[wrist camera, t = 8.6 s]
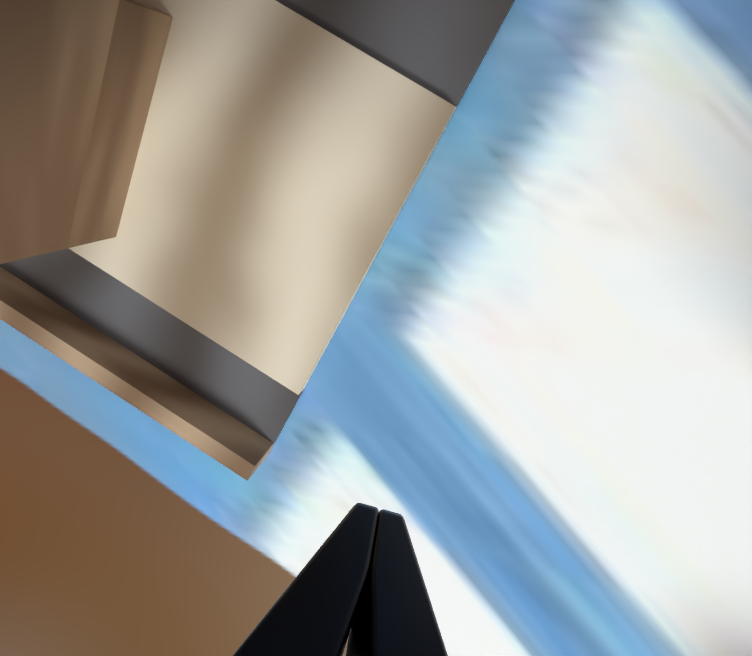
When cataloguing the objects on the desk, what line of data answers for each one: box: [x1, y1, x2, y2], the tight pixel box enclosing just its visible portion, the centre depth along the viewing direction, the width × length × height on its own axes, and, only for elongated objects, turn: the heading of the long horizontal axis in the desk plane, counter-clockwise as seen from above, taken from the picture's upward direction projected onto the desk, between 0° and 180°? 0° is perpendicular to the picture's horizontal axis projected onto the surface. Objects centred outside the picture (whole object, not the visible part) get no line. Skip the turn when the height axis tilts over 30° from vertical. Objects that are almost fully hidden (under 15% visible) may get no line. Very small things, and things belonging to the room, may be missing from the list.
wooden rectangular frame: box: [0, 0, 515, 480], centre depth 18 cm, size 25×22×3 cm
